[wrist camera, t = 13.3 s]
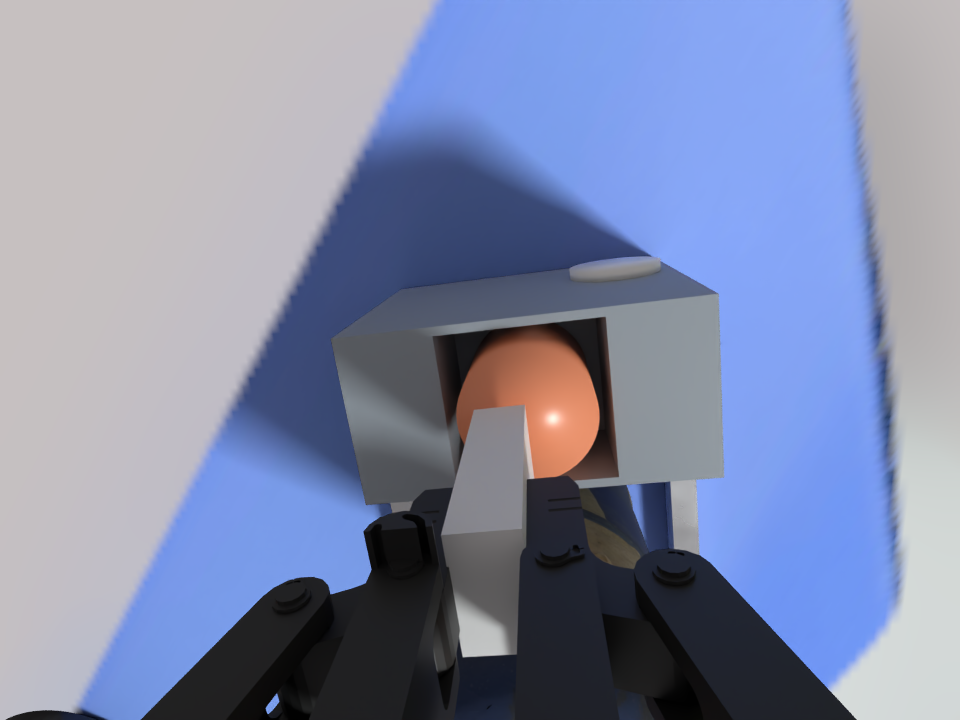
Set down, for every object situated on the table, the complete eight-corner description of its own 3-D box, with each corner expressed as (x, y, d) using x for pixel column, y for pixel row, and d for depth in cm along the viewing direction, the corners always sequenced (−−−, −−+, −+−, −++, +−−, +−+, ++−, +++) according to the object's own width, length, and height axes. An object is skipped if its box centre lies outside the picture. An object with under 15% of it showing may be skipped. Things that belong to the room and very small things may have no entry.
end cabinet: (421, 404, 30) (365, 504, 20) (399, 281, 28) (328, 326, 19) (660, 380, 28) (724, 477, 19) (653, 248, 27) (718, 280, 17)
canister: (440, 421, 30) (310, 729, 13) (628, 412, 29) (763, 737, 12) (458, 580, 33) (369, 1015, 15) (631, 577, 31) (745, 1044, 14)
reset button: (480, 432, 23) (467, 487, 19) (464, 324, 22) (446, 356, 18) (592, 421, 22) (605, 476, 18) (581, 310, 21) (593, 340, 17)
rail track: (438, 702, 35) (434, 724, 34) (378, 390, 30) (369, 400, 28) (698, 694, 33) (706, 717, 32) (683, 358, 28) (691, 367, 26)
